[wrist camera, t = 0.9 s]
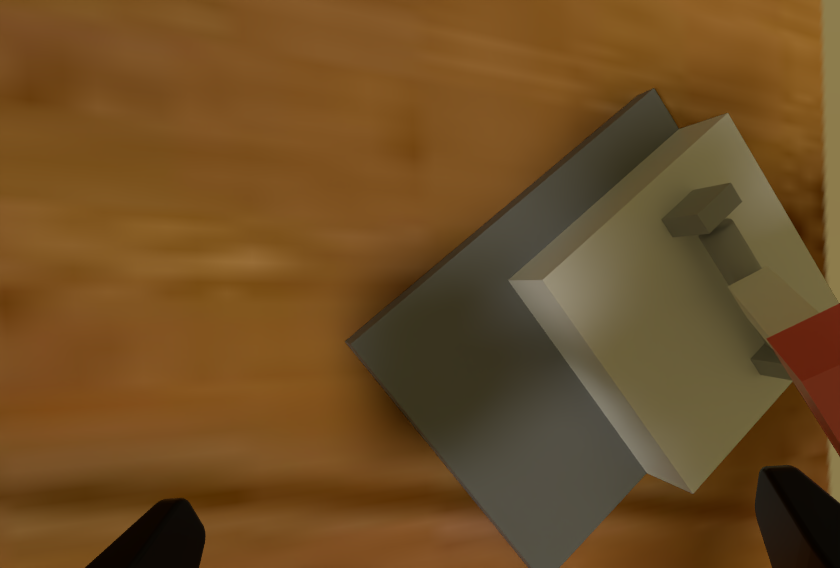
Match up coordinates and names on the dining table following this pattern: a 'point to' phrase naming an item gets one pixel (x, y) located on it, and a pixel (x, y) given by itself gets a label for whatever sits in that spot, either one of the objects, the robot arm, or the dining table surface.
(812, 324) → the switch lever
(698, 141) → the switch panel
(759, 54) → the dining table surface
